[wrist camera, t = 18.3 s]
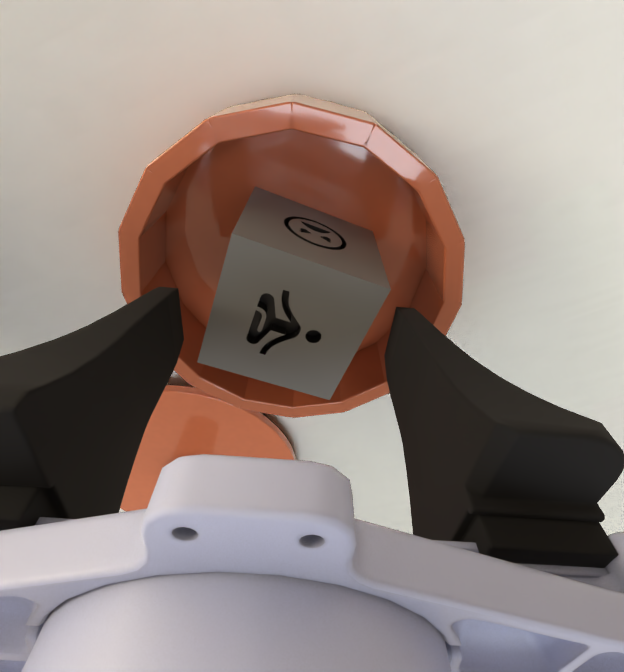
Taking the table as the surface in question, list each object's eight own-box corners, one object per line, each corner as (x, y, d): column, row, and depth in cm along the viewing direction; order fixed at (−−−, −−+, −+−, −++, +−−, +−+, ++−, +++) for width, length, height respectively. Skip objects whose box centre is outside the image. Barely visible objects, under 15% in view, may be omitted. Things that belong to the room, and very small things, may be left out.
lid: (56, 471, 26) (11, 541, 23) (128, 336, 20) (83, 403, 16) (234, 535, 31) (221, 604, 27) (340, 441, 24) (344, 514, 20)
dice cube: (255, 186, 15) (231, 233, 11) (372, 231, 16) (390, 289, 12) (224, 293, 18) (197, 362, 14) (327, 326, 19) (329, 400, 15)
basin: (110, 288, 18) (73, 329, 16) (243, 6, 13) (221, -9, 10) (326, 402, 22) (326, 451, 20) (503, 228, 17) (540, 263, 14)
